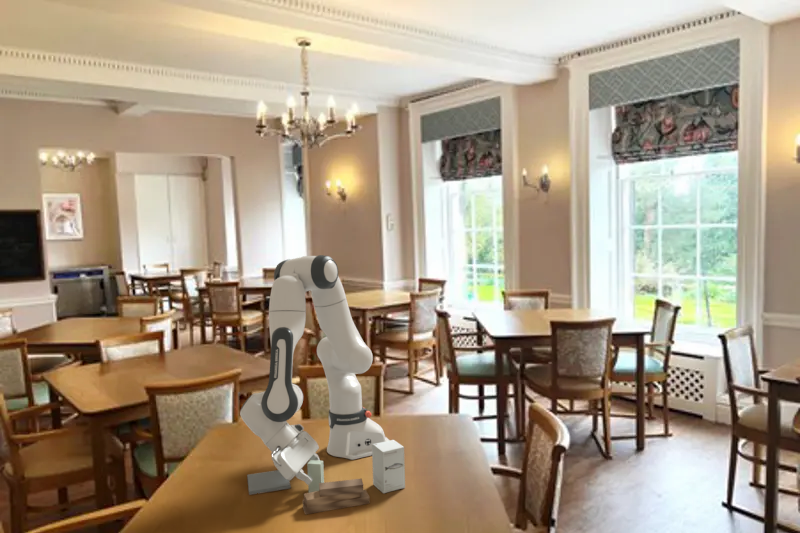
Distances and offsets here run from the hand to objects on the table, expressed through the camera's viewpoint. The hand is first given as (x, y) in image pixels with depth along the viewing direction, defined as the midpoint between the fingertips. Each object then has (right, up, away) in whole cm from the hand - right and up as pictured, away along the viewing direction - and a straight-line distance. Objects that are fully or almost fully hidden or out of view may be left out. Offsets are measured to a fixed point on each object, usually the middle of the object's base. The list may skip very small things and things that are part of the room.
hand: (316, 475), depth 171 cm
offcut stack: (+7, -6, -8) cm, 12 cm away
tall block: (0, -5, 0) cm, 5 cm away
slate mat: (-16, -5, +7) cm, 18 cm away
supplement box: (+21, -4, +3) cm, 22 cm away
